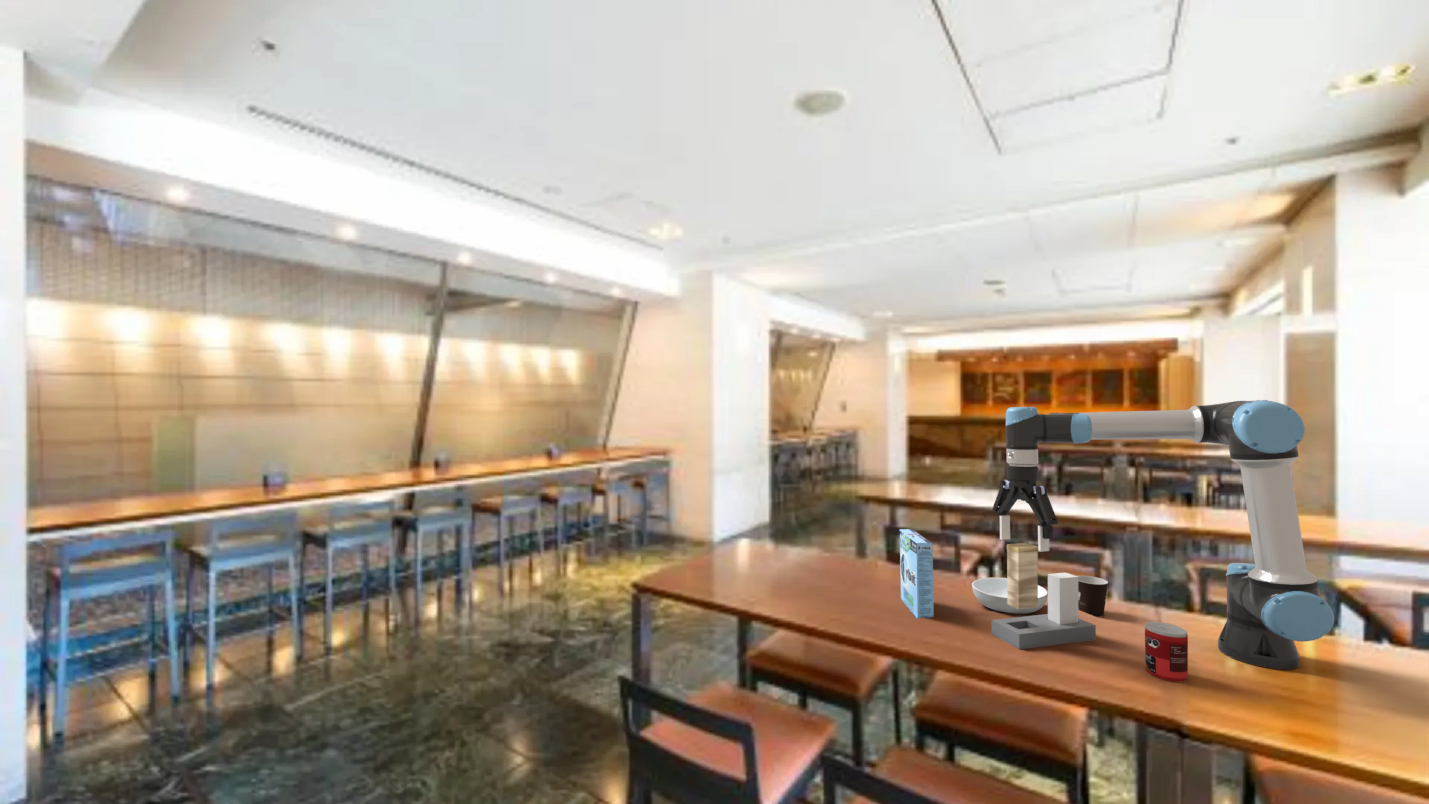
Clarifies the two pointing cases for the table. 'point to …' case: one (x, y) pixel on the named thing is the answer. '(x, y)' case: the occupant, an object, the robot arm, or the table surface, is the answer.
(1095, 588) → the coffee mug
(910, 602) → the gum box
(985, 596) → the serving bowl
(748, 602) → the table surface
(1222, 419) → the robot arm
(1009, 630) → the grey peg board
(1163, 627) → the canned food
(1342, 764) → the table surface
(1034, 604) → the beech plug
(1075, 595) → the white plug
